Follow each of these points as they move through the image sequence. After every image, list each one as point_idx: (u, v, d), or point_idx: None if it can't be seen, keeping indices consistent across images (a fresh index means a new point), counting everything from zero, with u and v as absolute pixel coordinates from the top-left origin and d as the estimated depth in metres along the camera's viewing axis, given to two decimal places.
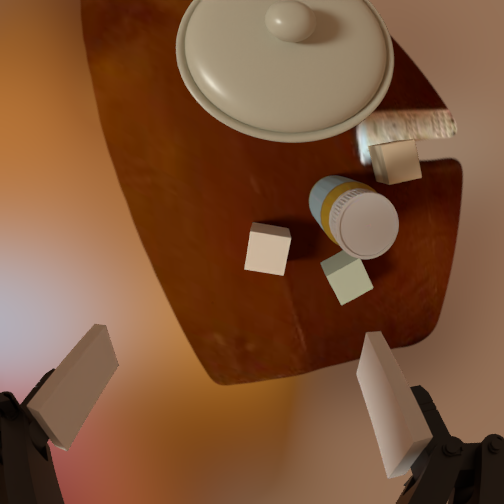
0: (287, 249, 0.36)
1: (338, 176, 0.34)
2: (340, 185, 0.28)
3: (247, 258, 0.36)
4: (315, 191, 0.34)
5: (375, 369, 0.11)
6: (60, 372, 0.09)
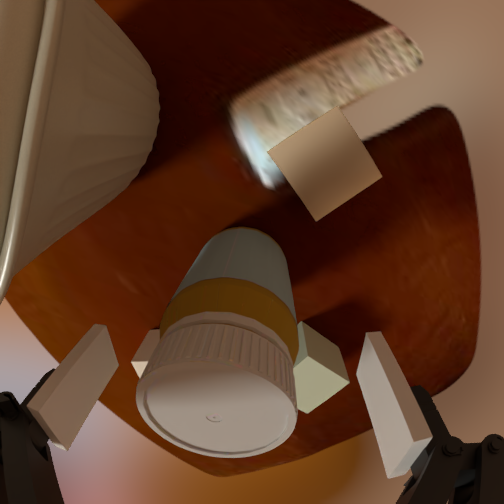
0: None
1: (218, 239, 0.19)
2: (171, 303, 0.13)
3: None
4: None
5: (375, 369, 0.11)
6: (60, 372, 0.09)
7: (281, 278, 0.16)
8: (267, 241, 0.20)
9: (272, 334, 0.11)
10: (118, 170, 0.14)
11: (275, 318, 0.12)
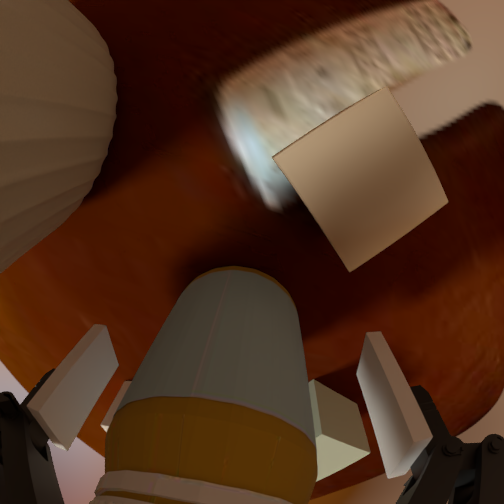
0: None
1: (199, 290, 0.13)
2: (115, 420, 0.07)
3: None
4: None
5: (375, 369, 0.11)
6: (60, 372, 0.09)
7: (293, 368, 0.09)
8: (271, 292, 0.13)
9: None
10: (32, 197, 0.07)
11: (284, 469, 0.06)
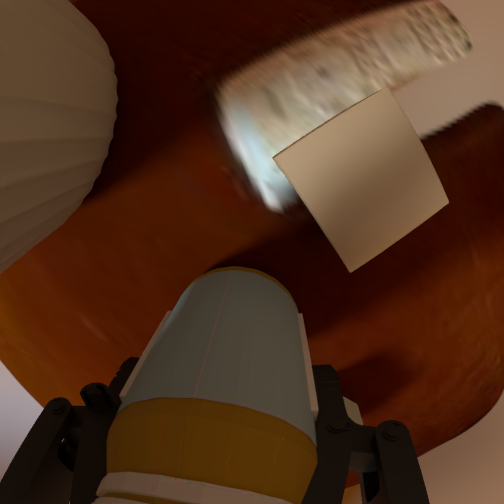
0: None
1: (200, 291, 0.13)
2: (116, 421, 0.07)
3: None
4: None
5: None
6: None
7: (295, 369, 0.09)
8: (272, 292, 0.13)
9: None
10: (32, 198, 0.07)
11: (286, 470, 0.05)
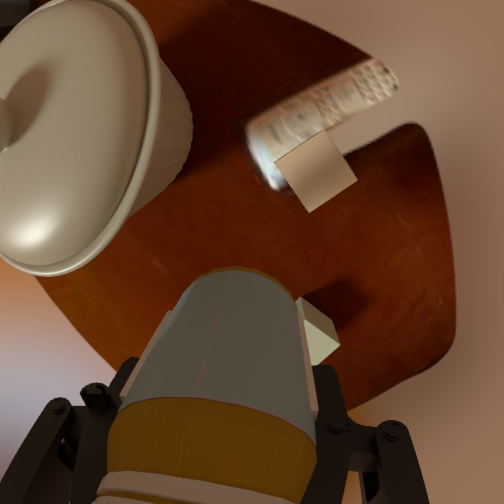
0: None
1: (200, 291, 0.13)
2: (117, 420, 0.07)
3: None
4: None
5: None
6: None
7: (295, 369, 0.09)
8: (273, 292, 0.13)
9: None
10: (169, 173, 0.21)
11: (286, 470, 0.06)
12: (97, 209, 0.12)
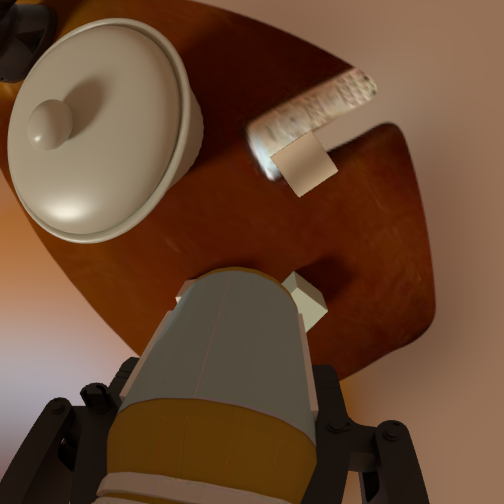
0: None
1: (200, 291, 0.13)
2: (116, 421, 0.07)
3: None
4: None
5: None
6: None
7: (295, 369, 0.09)
8: (273, 293, 0.13)
9: None
10: (187, 165, 0.26)
11: (285, 471, 0.06)
12: (143, 187, 0.17)
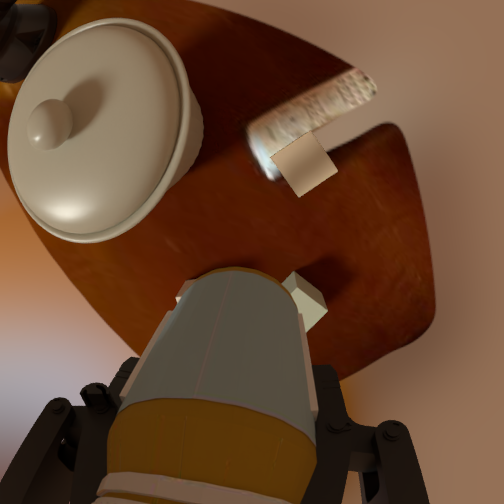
0: None
1: (201, 291, 0.13)
2: (116, 421, 0.07)
3: None
4: None
5: None
6: None
7: (295, 369, 0.09)
8: (273, 293, 0.13)
9: None
10: (187, 165, 0.26)
11: (285, 471, 0.06)
12: (143, 187, 0.17)
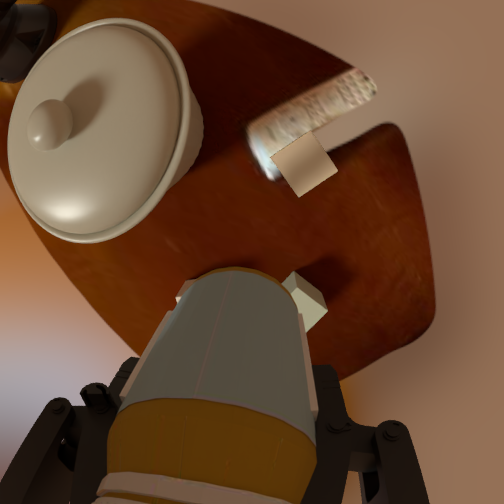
0: None
1: (201, 291, 0.13)
2: (116, 421, 0.07)
3: None
4: None
5: None
6: None
7: (295, 369, 0.09)
8: (273, 293, 0.13)
9: None
10: (187, 165, 0.26)
11: (285, 471, 0.06)
12: (143, 187, 0.17)
